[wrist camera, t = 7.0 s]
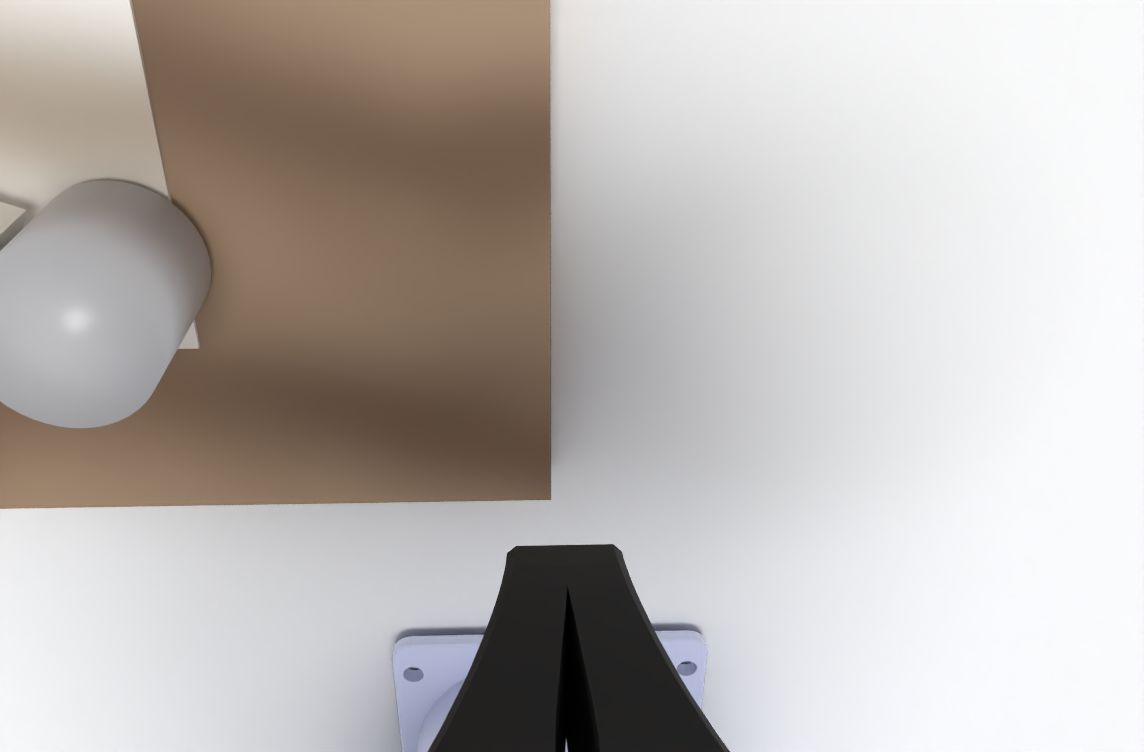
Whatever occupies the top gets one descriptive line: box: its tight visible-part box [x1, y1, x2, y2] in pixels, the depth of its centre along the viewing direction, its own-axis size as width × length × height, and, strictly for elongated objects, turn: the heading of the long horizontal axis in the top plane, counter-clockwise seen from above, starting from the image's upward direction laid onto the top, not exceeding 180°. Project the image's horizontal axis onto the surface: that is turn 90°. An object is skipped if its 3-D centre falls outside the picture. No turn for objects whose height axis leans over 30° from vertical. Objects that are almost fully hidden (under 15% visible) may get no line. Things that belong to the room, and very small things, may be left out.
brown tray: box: [0, 0, 551, 509], centre depth 19 cm, size 18×18×1 cm
